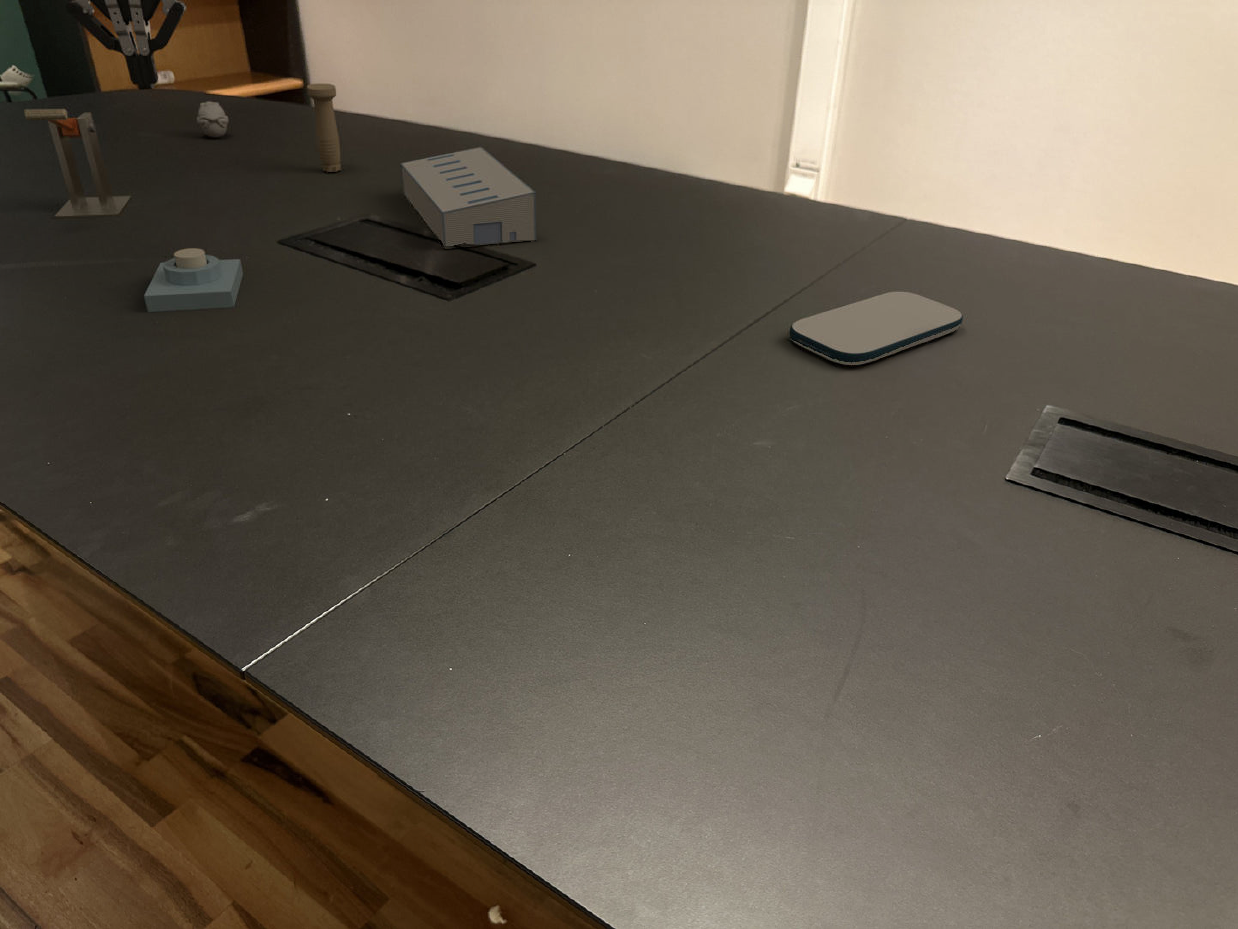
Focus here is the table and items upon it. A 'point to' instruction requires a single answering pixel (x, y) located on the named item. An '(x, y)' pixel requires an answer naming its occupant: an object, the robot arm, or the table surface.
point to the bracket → (78, 202)
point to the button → (190, 258)
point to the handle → (326, 125)
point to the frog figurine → (212, 119)
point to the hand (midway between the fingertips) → (147, 88)
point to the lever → (56, 120)
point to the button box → (194, 286)
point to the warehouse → (470, 198)
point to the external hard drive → (874, 326)
